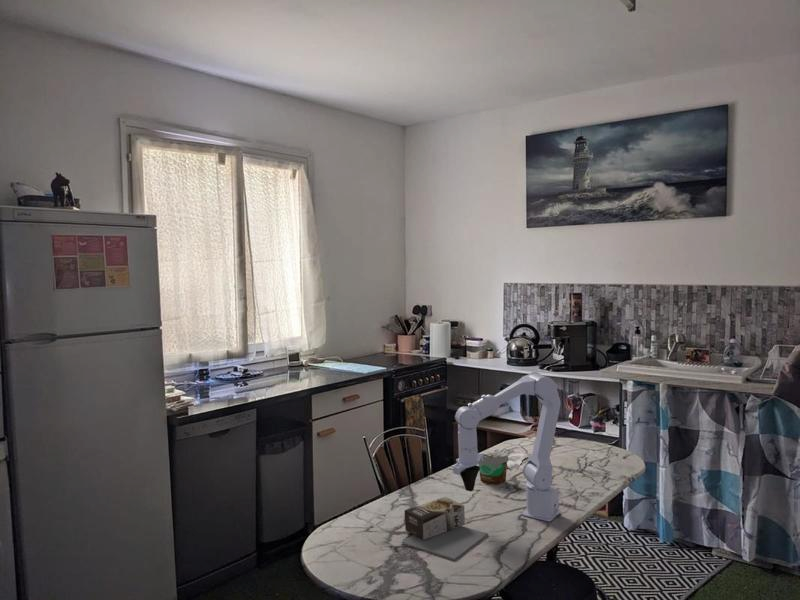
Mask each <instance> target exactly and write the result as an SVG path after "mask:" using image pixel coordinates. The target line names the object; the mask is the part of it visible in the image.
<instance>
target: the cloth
mask: <svg viewBox="0 0 800 600" xmlns="http://www.w3.org/2000/svg"><path fill="white" fill-rule="evenodd" d="M525 454H526V455H525ZM527 454H528V453H527V452H520V453H513V454H510V455H508V458H513V459H518V461H516V463H515V462H512V461H510V460H509V461H507V468H508V469H509V470H510V471H512V469H513V468H514V469H516V468H518V467H519V466H518V465H520V463H522V464H523V460H525V459H528V457H529V456H530V455H527ZM517 466H518V467H517ZM520 466H521V465H520ZM514 469H513V470H514Z"/></svg>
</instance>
